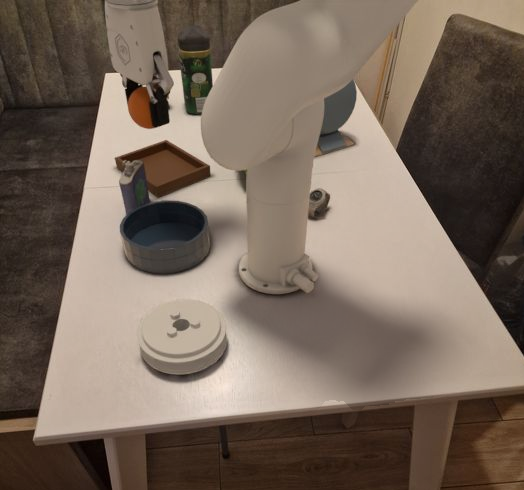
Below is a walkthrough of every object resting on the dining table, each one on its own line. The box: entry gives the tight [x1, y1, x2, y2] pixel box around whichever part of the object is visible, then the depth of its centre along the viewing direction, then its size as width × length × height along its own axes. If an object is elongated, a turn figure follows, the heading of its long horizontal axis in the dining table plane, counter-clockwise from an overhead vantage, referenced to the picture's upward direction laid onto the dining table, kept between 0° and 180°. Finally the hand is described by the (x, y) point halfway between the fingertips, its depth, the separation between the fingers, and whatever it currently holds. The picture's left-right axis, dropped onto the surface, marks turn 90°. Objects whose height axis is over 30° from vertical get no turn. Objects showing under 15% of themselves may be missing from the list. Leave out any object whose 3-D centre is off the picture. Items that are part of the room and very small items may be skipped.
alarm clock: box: [314, 78, 358, 158], centre depth 110 cm, size 14×10×18 cm
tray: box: [114, 139, 212, 198], centre depth 106 cm, size 17×14×2 cm
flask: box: [118, 160, 151, 216], centre depth 91 cm, size 9×3×11 cm, turn 172°
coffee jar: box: [177, 25, 214, 115], centre depth 124 cm, size 10×8×19 cm
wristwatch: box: [308, 187, 331, 219], centre depth 94 cm, size 4×6×5 cm, turn 143°
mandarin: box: [127, 86, 156, 130], centre depth 82 cm, size 6×6×6 cm
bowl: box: [119, 199, 211, 275], centre depth 86 cm, size 15×15×5 cm
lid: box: [136, 298, 228, 375], centre depth 70 cm, size 13×13×5 cm
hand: (149, 117), depth 83 cm, fingers closed on mandarin, 6 cm apart
